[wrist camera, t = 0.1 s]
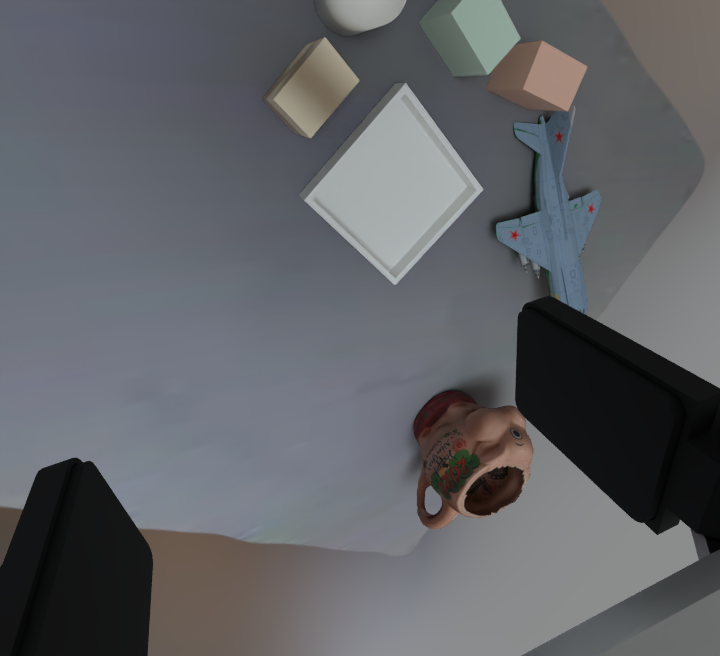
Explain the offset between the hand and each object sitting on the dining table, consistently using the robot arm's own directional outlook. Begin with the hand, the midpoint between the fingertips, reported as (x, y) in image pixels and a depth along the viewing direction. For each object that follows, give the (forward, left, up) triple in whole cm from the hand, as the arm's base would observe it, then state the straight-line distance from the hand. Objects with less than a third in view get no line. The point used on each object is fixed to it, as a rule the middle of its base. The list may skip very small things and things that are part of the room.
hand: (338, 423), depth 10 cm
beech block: (+1, +10, -37) cm, 39 cm away
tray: (+14, +10, -37) cm, 41 cm away
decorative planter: (+45, -7, -37) cm, 59 cm away
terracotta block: (+16, +28, -37) cm, 49 cm away
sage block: (+8, +24, -37) cm, 45 cm away
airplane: (+34, +20, -38) cm, 55 cm away
